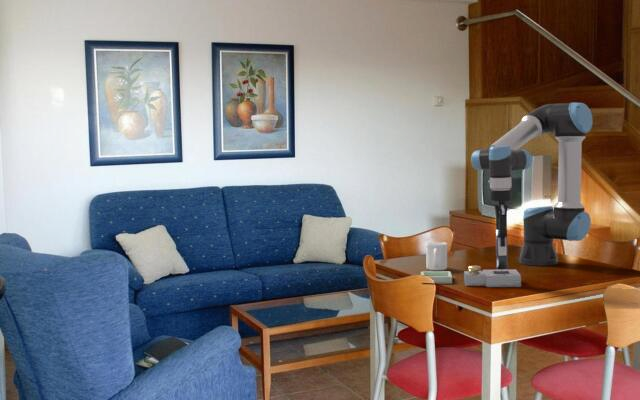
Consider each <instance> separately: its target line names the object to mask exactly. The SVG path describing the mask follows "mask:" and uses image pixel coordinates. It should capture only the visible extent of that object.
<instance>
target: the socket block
mask: <svg viewBox="0 0 640 400" xmlns="http://www.w3.org/2000/svg"><path fill="white" fill-rule="evenodd" d="M518 271H519V270H517V269H512V268H511V269H482V270H480V271H478V274H471V271H469V270H463V283H464V286H466V287H467V286H469V287H471V286H473V287H475V286H477V287H480V286H481V287H482V286H483V287H486V288H521V287H522V275H521V273H519V272H518Z"/></svg>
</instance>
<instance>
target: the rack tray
mask: <svg viewBox="0 0 640 400" xmlns="http://www.w3.org/2000/svg"><path fill="white" fill-rule="evenodd" d="M421 275H425V276H428V277H430V278H432V279H433V280H434V281H435V283H436V284H437V285H438V284H439V285H440V284H441V285H443V284H444V285H447V284H448V285H449V284H450V285H452V284H453V276H452V272H451V271H450V270H449V271H447V270H446V271H445V270H428V271H420V276H421ZM436 284H435V285H436Z"/></svg>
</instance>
